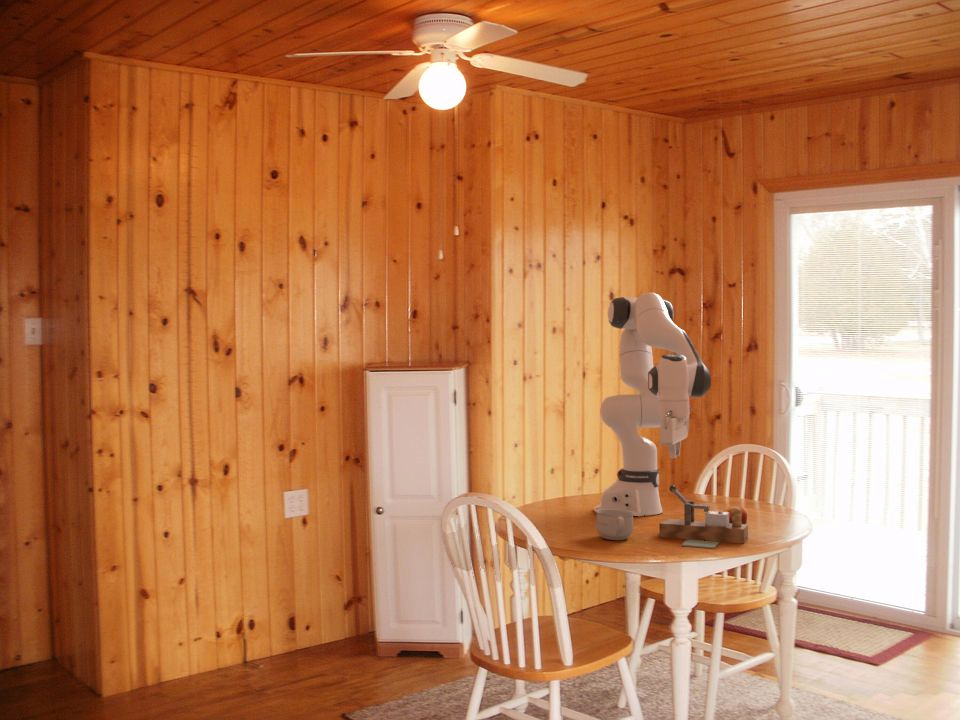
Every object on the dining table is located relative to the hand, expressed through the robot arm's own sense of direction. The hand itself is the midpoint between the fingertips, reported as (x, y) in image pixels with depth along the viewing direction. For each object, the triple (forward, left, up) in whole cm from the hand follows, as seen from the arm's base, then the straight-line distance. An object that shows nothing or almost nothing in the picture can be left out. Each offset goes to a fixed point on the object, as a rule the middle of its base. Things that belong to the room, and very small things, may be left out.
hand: (674, 457), depth 278 cm
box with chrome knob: (+12, 0, -19) cm, 23 cm away
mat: (+9, -9, -23) cm, 26 cm away
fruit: (+14, +15, -23) cm, 31 cm away
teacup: (-15, -11, -23) cm, 30 cm away
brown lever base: (+8, 0, -23) cm, 25 cm away
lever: (+4, 0, -15) cm, 16 cm away
